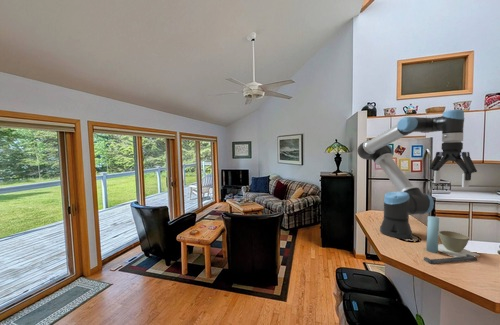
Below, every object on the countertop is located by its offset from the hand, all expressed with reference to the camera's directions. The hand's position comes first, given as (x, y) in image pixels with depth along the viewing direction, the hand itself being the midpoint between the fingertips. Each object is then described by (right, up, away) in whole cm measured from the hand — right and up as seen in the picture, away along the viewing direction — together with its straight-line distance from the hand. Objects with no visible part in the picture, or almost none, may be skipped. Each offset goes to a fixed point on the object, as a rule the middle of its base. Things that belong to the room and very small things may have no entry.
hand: (450, 185), depth 103 cm
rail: (-14, -31, -15) cm, 37 cm away
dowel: (-14, -30, -6) cm, 34 cm away
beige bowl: (-4, -30, -6) cm, 31 cm away
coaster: (-4, -30, -6) cm, 31 cm away
